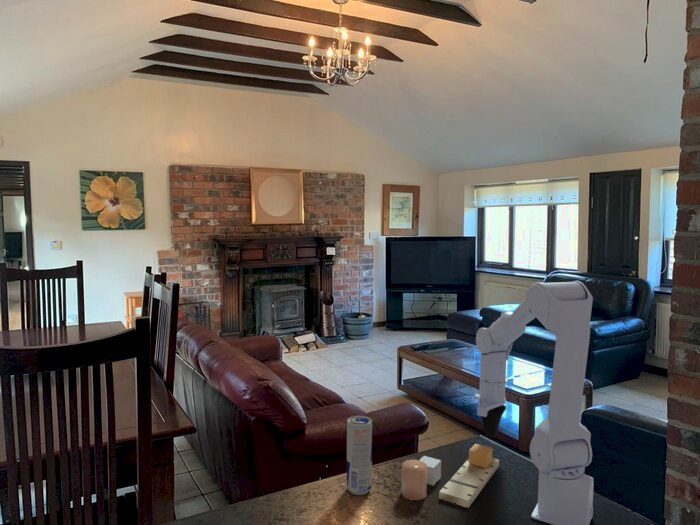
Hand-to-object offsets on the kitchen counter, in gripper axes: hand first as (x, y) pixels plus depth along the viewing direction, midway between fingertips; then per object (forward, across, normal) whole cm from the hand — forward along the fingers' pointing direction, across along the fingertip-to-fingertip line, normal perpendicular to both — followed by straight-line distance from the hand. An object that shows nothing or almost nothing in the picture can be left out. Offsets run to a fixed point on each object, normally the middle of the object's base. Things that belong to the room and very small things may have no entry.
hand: (490, 436), depth 120 cm
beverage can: (+5, +29, -18) cm, 35 cm away
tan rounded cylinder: (+5, +24, -8) cm, 26 cm away
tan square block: (+3, +7, 0) cm, 8 cm away
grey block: (+5, +17, -8) cm, 20 cm away
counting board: (+5, +13, 0) cm, 14 cm away
